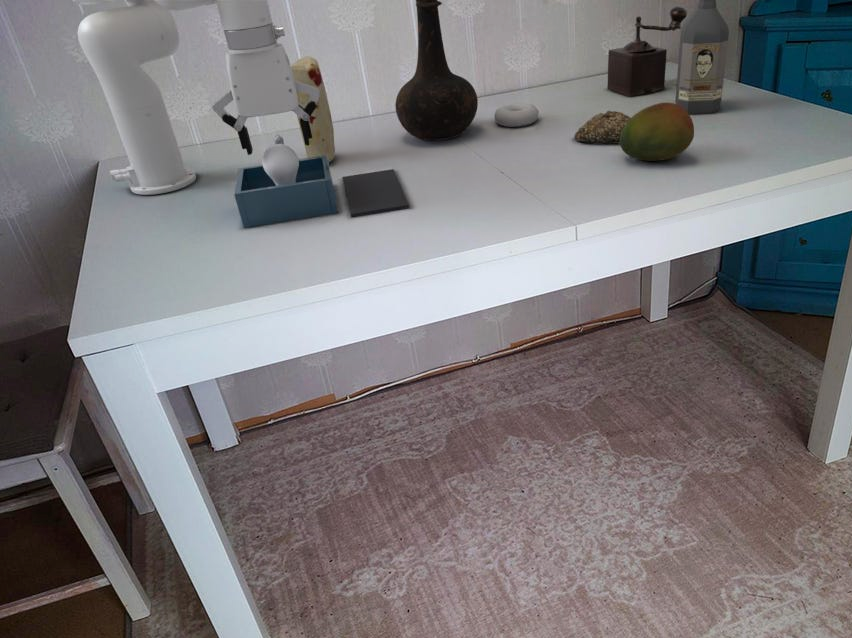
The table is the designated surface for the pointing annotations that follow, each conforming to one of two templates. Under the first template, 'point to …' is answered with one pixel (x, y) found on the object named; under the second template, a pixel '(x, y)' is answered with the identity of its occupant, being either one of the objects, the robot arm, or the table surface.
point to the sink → (285, 193)
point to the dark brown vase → (434, 86)
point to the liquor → (702, 60)
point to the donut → (516, 114)
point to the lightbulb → (281, 164)
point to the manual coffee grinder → (641, 61)
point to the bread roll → (603, 128)
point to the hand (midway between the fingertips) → (279, 147)
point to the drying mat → (374, 193)
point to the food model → (321, 116)
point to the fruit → (657, 132)
